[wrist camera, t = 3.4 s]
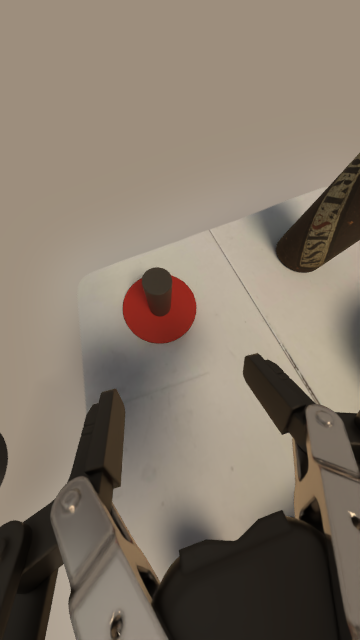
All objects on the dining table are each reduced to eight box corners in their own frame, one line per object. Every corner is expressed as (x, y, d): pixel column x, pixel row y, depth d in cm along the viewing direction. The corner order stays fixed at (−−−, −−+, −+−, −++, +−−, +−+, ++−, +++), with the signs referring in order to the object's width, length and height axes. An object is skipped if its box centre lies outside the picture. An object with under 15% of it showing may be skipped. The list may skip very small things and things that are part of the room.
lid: (143, 357, 24) (130, 353, 16) (112, 293, 26) (86, 259, 18) (208, 322, 26) (228, 302, 18) (174, 266, 28) (178, 223, 20)
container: (268, 236, 31) (429, 30, 12) (311, 231, 32) (523, 35, 13) (283, 277, 29) (507, 109, 10) (329, 271, 30) (611, 107, 11)
